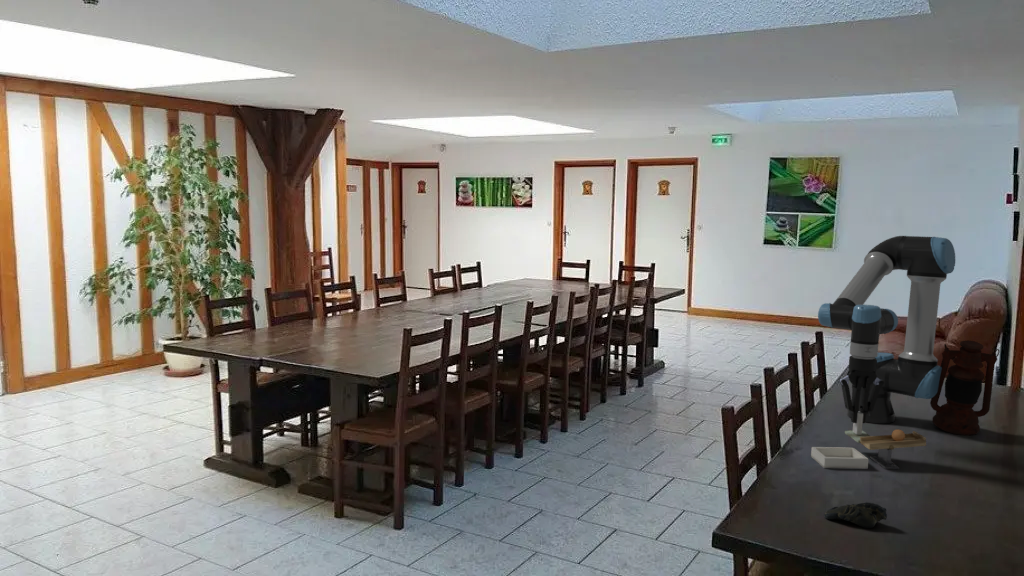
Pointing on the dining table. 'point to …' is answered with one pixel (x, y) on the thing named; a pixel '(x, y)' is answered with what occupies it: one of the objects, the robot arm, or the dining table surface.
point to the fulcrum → (884, 459)
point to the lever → (887, 440)
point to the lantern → (964, 388)
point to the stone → (858, 514)
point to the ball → (898, 435)
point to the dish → (839, 457)
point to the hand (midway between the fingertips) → (857, 433)
